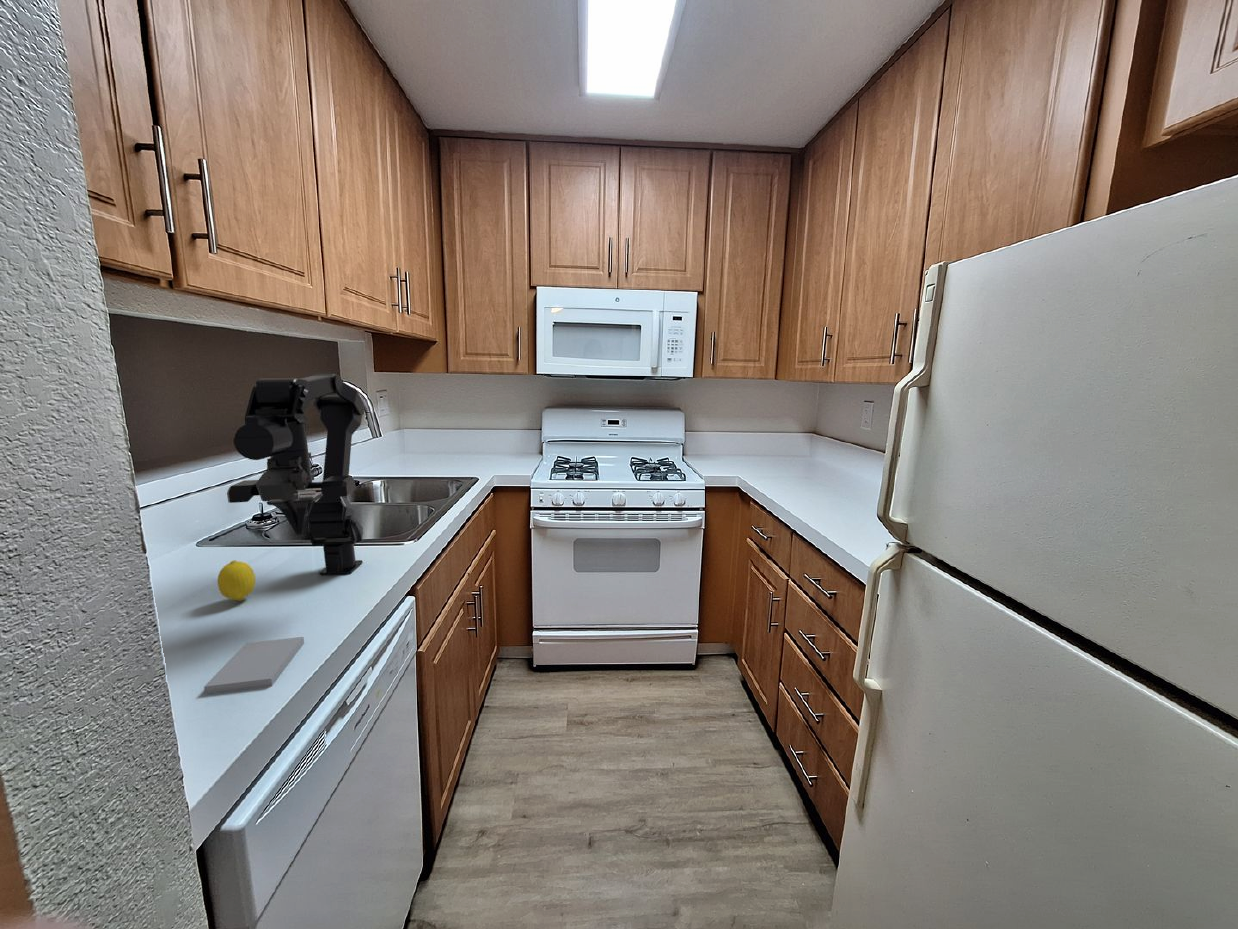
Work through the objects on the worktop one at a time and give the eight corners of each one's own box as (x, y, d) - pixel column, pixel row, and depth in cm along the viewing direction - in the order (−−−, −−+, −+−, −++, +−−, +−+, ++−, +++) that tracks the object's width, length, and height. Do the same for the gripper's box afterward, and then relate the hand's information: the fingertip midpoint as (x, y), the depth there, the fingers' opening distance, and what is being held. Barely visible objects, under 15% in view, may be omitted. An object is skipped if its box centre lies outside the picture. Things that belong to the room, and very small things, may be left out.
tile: (246, 642, 77) (203, 686, 66) (303, 636, 78) (271, 678, 68) (247, 652, 77) (205, 697, 67) (304, 645, 79) (272, 688, 68)
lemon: (253, 591, 97) (246, 553, 95) (262, 599, 94) (255, 559, 92) (217, 602, 93) (210, 561, 91) (225, 610, 89) (218, 569, 88)
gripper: (201, 460, 78) (217, 554, 81) (331, 455, 82) (342, 545, 85) (238, 449, 89) (251, 532, 92) (351, 445, 93) (360, 525, 96)
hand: (300, 534), depth 91 cm, fingers closed
